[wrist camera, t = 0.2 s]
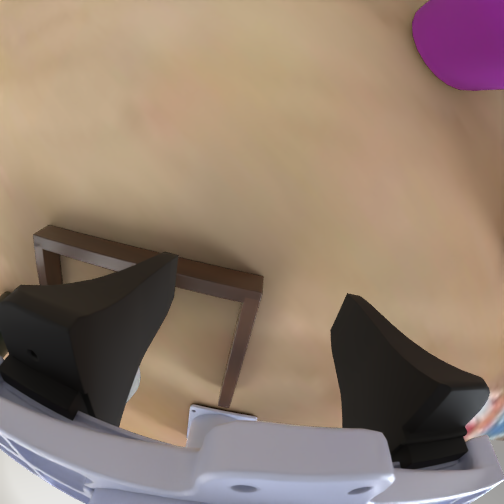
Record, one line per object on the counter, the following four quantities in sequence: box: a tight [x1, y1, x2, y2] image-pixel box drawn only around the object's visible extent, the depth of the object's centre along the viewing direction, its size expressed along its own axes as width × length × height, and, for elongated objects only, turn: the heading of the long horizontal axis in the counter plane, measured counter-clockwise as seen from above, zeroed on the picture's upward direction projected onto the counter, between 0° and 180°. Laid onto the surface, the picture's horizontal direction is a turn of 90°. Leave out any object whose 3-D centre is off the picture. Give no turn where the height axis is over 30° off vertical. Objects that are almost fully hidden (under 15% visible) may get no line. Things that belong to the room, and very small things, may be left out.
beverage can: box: [412, 0, 504, 91], centre depth 9 cm, size 8×8×12 cm
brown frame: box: [33, 225, 263, 408], centre depth 24 cm, size 15×20×2 cm
